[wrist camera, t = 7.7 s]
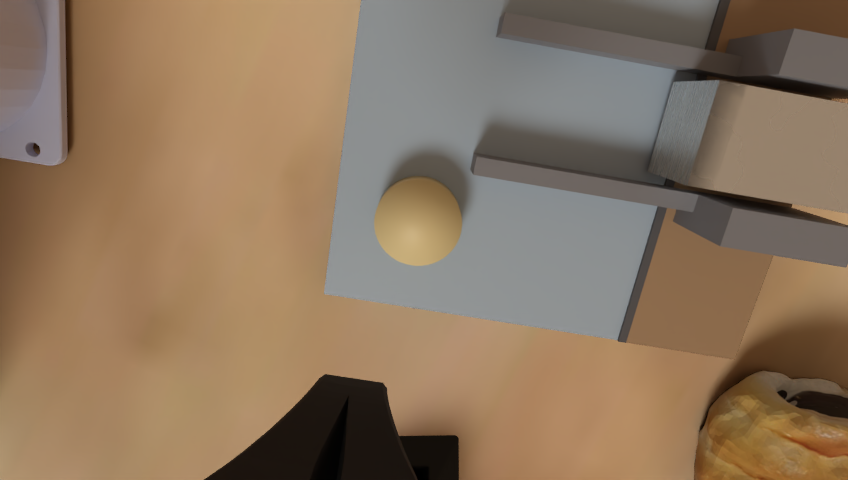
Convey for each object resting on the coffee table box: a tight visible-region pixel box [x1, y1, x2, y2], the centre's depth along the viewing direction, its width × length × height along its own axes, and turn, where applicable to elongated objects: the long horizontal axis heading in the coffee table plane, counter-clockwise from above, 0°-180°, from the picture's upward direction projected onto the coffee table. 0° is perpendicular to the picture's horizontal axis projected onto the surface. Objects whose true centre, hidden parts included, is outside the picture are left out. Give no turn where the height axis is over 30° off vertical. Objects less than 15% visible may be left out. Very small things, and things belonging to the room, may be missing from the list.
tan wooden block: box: [648, 80, 848, 213], centre depth 16 cm, size 6×3×3 cm, turn 80°
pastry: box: [694, 371, 848, 480], centre depth 21 cm, size 9×7×4 cm
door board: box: [324, 0, 848, 360], centre depth 17 cm, size 16×16×4 cm
